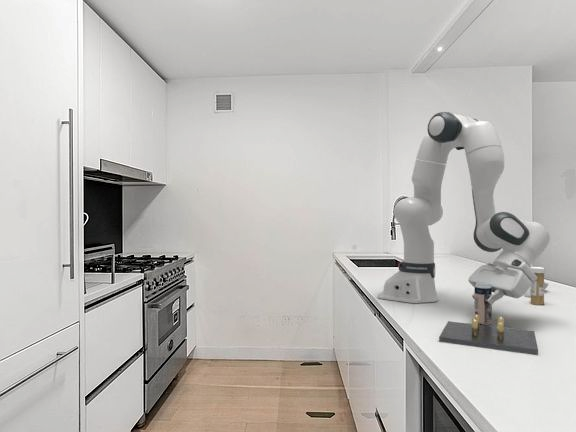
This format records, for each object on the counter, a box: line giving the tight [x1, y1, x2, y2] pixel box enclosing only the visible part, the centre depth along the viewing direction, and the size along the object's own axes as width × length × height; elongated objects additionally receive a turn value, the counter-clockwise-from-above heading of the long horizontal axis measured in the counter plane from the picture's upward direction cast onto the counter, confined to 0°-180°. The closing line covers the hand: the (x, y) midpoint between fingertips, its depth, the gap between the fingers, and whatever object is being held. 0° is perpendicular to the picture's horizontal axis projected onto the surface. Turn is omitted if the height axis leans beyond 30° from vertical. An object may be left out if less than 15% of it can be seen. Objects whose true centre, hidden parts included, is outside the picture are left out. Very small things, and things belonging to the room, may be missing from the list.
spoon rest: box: [523, 281, 549, 298], centre depth 178 cm, size 24×12×7 cm, turn 150°
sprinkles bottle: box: [529, 266, 546, 306], centre depth 156 cm, size 5×5×13 cm
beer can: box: [473, 282, 493, 326], centre depth 128 cm, size 5×5×12 cm
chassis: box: [438, 314, 539, 356], centre depth 113 cm, size 22×18×5 cm
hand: (481, 300), depth 128 cm, fingers closed on beer can, 5 cm apart
